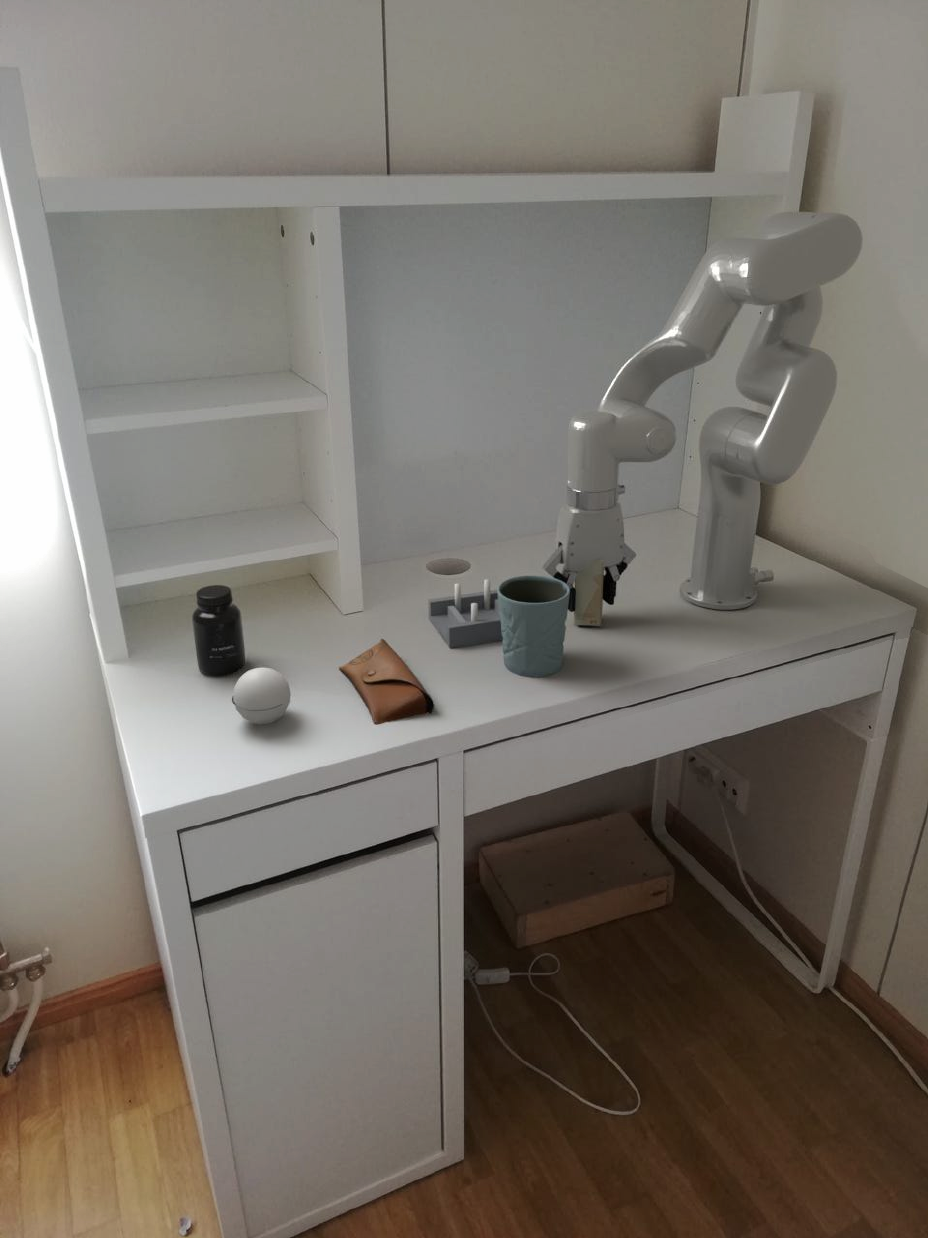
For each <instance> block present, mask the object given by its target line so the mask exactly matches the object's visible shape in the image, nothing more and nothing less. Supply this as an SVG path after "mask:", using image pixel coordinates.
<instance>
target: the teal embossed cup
mask: <svg viewBox="0 0 928 1238" xmlns="http://www.w3.org/2000/svg"><path fill="white" fill-rule="evenodd" d="M496 590H497V593H498V602H499V610H500V618H501V621H500V622H501V631H502V633H501V634H502V637H503V640H502V653H503V658H502V659H503V664H504V666H505V668H506V670H508V671H509V672H510V673H512V674H515V675H517V676H521V677H527V678H540V677H541V678H544V677H546V676H548V677H549V676H550V675H553V674H556V673H557V672H558V671H559V670H560V669H561V668H562V665H563V660H564V659H563V658H564V647H565V646H564V642H565V638H566V629H567V626H566V621H567V618H568V611H569V610H568V603H569V595H570V588H569V587H568V585H567V584H566V583H564V582H562V581H561V580H558V579H556V578H553V577H552V576H545V575H536V574H535V575H533V574H531V575H521V576H514V577H511V578H508V579H505V580H504V581H502V582H501V583H500V584H499V585H498V587H497V589H496Z"/></svg>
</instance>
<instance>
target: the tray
mask: <svg viewBox="0 0 928 1238" xmlns="http://www.w3.org/2000/svg"><path fill="white" fill-rule="evenodd" d="M483 581H484V582H483V591H480V592H473V593H466V594H465V593H464V594H462V584H461V583H454V595H452V596H443V597H438V598H432V599H431V598H430V599H428V600H427V603H428V620H429V622H430V623H431V624H432V626H433V627H434V628H435V630H436V631H437V633H438V634H439V635H440V637H441V638H442V640H443V641H444V642H445V644H446V645H447V647H448V648H449V649H452V648H460V647H464V646H465V647H466V646H471V645H477V644H484V643H491V642H496V641H497V642H498V641H503V637H502V634H501V633H502V631H501V622H500V621H501V618H500V610H499V602H498V593H497V589H494V590H491V579H489V578H486V579H484V580H483Z"/></svg>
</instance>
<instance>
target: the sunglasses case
mask: <svg viewBox="0 0 928 1238" xmlns="http://www.w3.org/2000/svg"><path fill="white" fill-rule="evenodd" d="M338 670H339V671H340V673H341V674H343V675H344V676H345V677H346V678H347V679H348V681H349V682H350V683H351V684H352V686H353V687H354V689H355V691H356V693H358V695H359V697H360V698H361V700H362V703H364V704H365V706H366V708H367V710H368V712H369V714H370V716H371V719H372V722H373V723H374V724H375V725H382V724H386V723H389V722H393V721H398V720H403V719H407V718H412V717H417V716H421V715H422V716H423V715H425V714H432V712H433V710H434V707H435V704H434V700H433V697H431V695H430V694H429V693H428V692H427V690H426V689H425V688H424V685H422V683H421V681H420V680H419V679H418V677H416V675H415V674H414V673H413V672H412V670H411V669H410V668H409V667H408V665H407V664H406V663H405V662H404V660H403V659H402V658H401V657H400V655H399V654H398V653H397V652H396V651H395V650H394V649H393V648H392V647H391V646H390V645H389V643H388V642H387V641H386V640H385V639H383V638H380V640H379V642H378V643H376V644H375V645H373V646H371V647H370V648H369V649H367V650H366V651H363V652H362V653H361V654H359V655H358V656H356V657H355V658H353V659H351V660H350V661H349V662H347V663H346V664H344V665H342V666H339V667H338Z"/></svg>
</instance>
